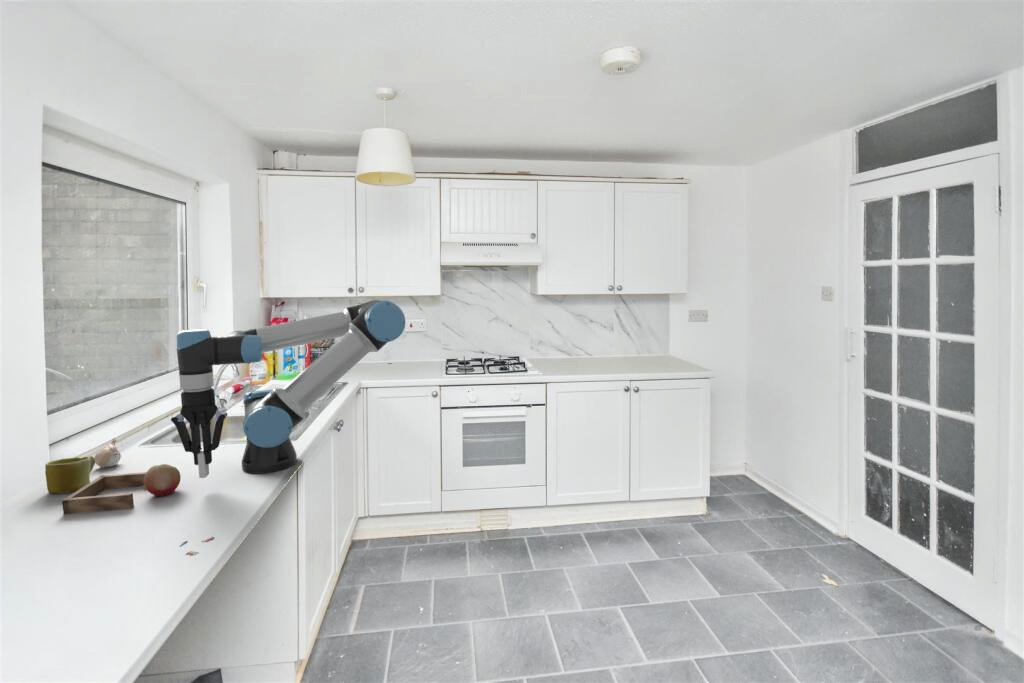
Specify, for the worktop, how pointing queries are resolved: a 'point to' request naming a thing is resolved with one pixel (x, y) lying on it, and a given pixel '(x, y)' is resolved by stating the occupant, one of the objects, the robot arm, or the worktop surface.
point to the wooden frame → (90, 502)
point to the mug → (68, 474)
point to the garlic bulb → (108, 455)
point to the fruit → (162, 479)
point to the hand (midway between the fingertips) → (204, 475)
